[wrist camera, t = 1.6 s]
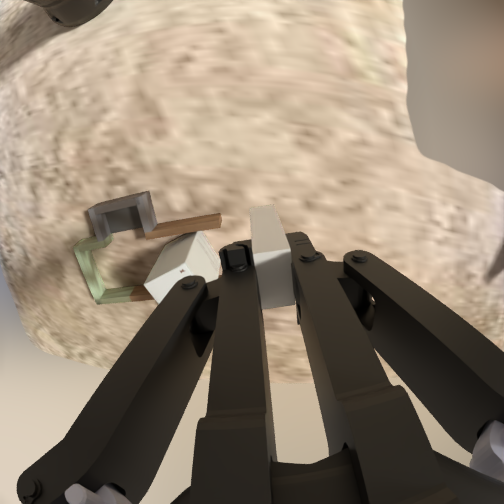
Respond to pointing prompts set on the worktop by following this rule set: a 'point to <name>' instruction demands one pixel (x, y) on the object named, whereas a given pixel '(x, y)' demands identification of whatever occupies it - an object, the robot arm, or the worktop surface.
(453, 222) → the worktop surface
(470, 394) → the robot arm
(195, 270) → the supplement box
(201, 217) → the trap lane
